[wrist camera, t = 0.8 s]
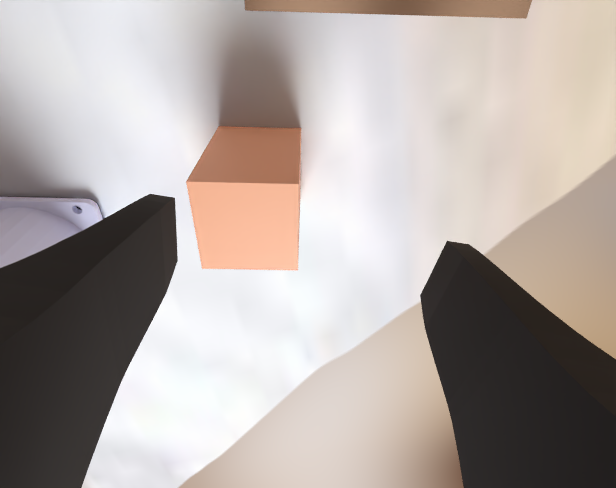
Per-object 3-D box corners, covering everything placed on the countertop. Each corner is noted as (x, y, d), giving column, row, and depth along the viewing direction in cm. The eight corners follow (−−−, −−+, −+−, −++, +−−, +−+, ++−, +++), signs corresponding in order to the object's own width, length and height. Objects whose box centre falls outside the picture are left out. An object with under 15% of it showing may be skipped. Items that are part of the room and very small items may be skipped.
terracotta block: (227, 198, 20) (202, 268, 16) (218, 126, 18) (186, 181, 13) (300, 200, 21) (297, 270, 16) (301, 128, 18) (298, 184, 13)
